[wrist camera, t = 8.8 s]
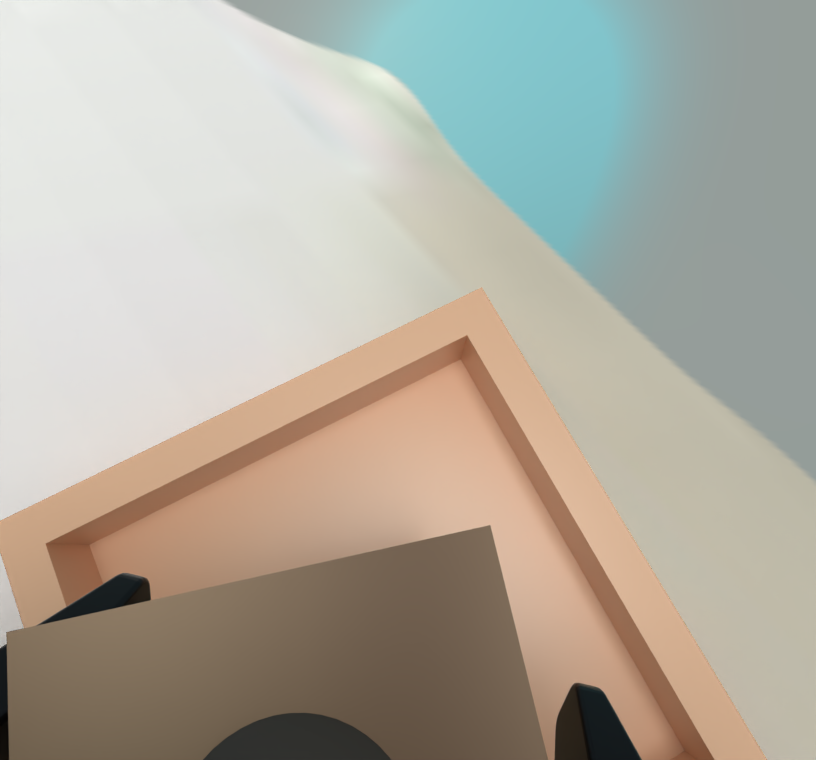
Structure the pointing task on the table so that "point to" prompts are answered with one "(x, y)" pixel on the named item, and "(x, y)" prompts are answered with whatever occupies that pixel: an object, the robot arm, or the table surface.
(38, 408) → the table surface
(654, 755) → the tray
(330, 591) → the walnut block
